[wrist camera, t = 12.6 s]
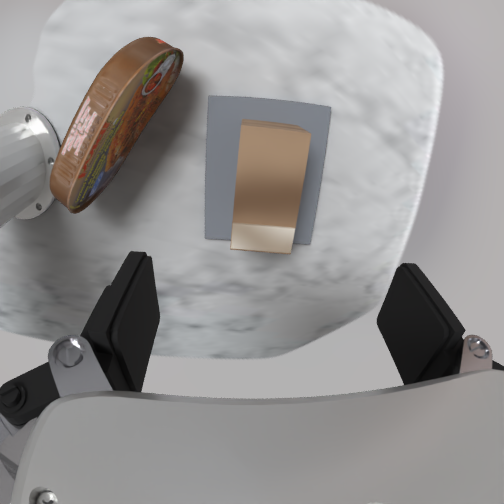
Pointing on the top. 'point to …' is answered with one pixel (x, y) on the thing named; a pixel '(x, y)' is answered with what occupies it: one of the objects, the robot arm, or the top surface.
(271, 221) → the card box
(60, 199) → the tin
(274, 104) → the mat
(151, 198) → the top surface
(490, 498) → the robot arm
